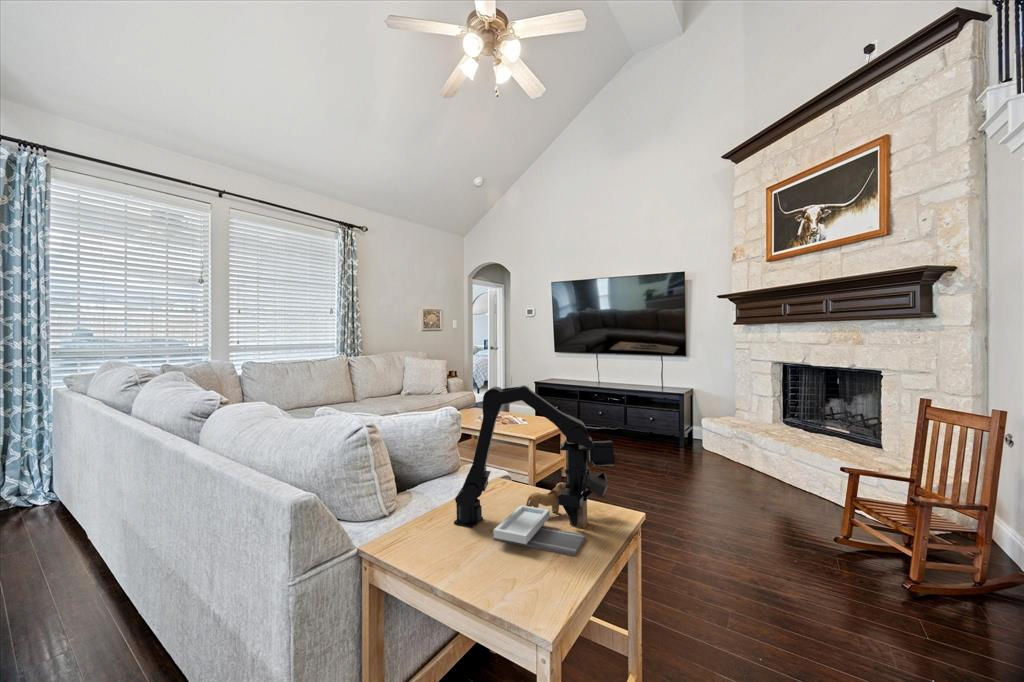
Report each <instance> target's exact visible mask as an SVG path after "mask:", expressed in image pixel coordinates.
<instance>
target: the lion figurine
mask: <svg viewBox="0 0 1024 682" xmlns="http://www.w3.org/2000/svg"><path fill="white" fill-rule="evenodd" d="M565 485H566V482H559V483H557V484H556V485H555V487H554V488H553V489H552V490H551V491H549V492H548V493H547V492H546V493H540V492H533V493H531V494H530V495H529V496H528V498H527V500H526V503H525V504H526V505H525V506H529V507H535V508H539V506H540V505H541V506H544V507H551V512H552V513H553V512H555V513H554V514H555V516H556V515H560V516H561V513H559V512H560V511H559V509H560V505H558V500H557V497H558V496H559V495H560V494H561V493H562V492H563V491H564V490H568V491H569V489H568V488H565Z"/></svg>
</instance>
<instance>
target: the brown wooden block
mask: <svg viewBox="0 0 1024 682" xmlns="http://www.w3.org/2000/svg"><path fill="white" fill-rule="evenodd" d="M583 503H584V504H583V505H582V507H581V508H579V514H578V521H577V527H576V528H580V527H583V528H582V529H584V528H585V527H586V525H587V524H588V500H587V501H583ZM586 523H587V524H586ZM570 525H571V527H574V526H573V525H572V523H571V521H570V520H569V526H570ZM584 526H585V527H584Z"/></svg>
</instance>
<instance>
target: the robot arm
mask: <svg viewBox="0 0 1024 682" xmlns="http://www.w3.org/2000/svg"><path fill="white" fill-rule="evenodd" d="M520 401H521V402H523V403H525V404H526V405H527V406H529V408H531V409H532V410H535V411H536V413H538V414H540V415H542V417H544V418H545V419H546V420H548V421H550V422H551V423H552V424H554V426H556V428H557V429H558V430H559V431H560V432H561V433H562V434H563V435H564V437H565V438H566V439H567V440H566V439H565V440H564V442H563V443H562V444H560V446H559V447H560V451H566V469H564V474H566V475H567V476H566V477H567V478H566V479H567V480H566V481H567V482H565V484H566V485H565V488H568V490H564V491H563V492H562V493H561V494H560V495H559V496H558V497H557V500H558V505H559V506H562V507H563V509H564V511H565V513H566V514H567V515H566V516H567V517H568V518H569V522H570V521H571V523H572V525H573V526H572V527H574V526H577V521H578V514H579V508H581V507H582V505H583V504H584V503H583V501H587V502H588V499H589V496H590V495H591V494H592V493H593V494H596V495H597V496H598V497H601V498H602V497H604V495H605V494H606V491H607V490H608V487H609V486H608V485H610V483H609V480H608V478H607V474H606V473H605V472H602V471H601V472H599V473H598V474H593V473H592V472H591V468H590V467H588V460H589V463H591V464H593V466H596V467H597V466H599V467H600V466H601V467H603V466H605V467H606V466H609V467H611V466H612V467H614V466H615V464H616V458H615V452H614V451H615V450H614V446H613V445H614V443H613V441H612V440H605V441H604V440H602V441H601V440H598V441H596V440H593V438H592V437H591V436H590V435H589V434H588V430H587V427H586V425H585V423H584V422H583V421H582V420H580V419H578V418H576V417H575V416H572V415H569V414H568V413H565V412H562V411H561V410H559V409H558V408H556V407H555V406H554V405H552V404H551V403H549V402H548V401H547V400H546V399H544V398H543V397H541V396H540V395H538V394H537V393H536V392H535V391H533V390H532V389H531V388H529V386H527V385H520V386H514V387H505V388H501V387H499V386H493V387H491V388H489V389H488V390H486V391H485V392H484V394H483V396H482V422H481V426H480V431H479V435H478V439H477V443H476V447H475V448H476V449H475V451H474V457H473V461H472V465H471V467H470V468H469V471H468V474H467V475H466V478H465V480H464V482H463V485H462V487H461V489H460V490H459V491H458V493H457V495H456V496H455V498H454V501H455V505H456V506H455V507H456V519H455V520H454V521H453V525H459V526H464V527H469V528H474V527H475V526H476V525H478V524H479V523H480V522H481V521H482V520H483V519H484V516H483V515H482V514H483V512H482V510H483V509H482V508H483V507H482V505H481V499H479V498H480V497H481V496H482V494H483V492H485V491H486V489H487V487H488V485H489V477H490V474H491V472H492V471H491V470H487V462H488V458H489V453H490V449H491V444H492V442H493V441H492V440H493V436H494V430H495V428H496V423H497V419H498V417H499V415H500V412H501V410H502V407H503V405H506V404H512V403H514V402H515V403H516V402H520ZM568 441H569V442H568ZM579 444H580V445H579ZM588 458H589V459H588Z"/></svg>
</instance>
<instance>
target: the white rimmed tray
mask: <svg viewBox="0 0 1024 682" xmlns="http://www.w3.org/2000/svg"><path fill="white" fill-rule="evenodd" d="M550 514H551V511H550V509H546V508H541V507H538V508H535V507H533V506H532V507H529V506H526V505H522V504H521V505H519V506H518V507H517V508H516V509H514V511H512V512H511V513H510V514H509V515H508V516H507V517H506V518H505V519H504V520H503V521H501V522H500V524H498V525H497V526H496V527H495V528H494V529H493V539H494V538H498V539H503V540H508V541H513V542H517V543H522V544H527V543H529V542H530V541H531V539H532V537H533V536H534V535H535V533H536V532H537V531H538V530H539V529H540V528H541V527H544V526H545V523H546V522H547V521H548V520H549V519H550V517H551V516H550Z"/></svg>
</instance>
